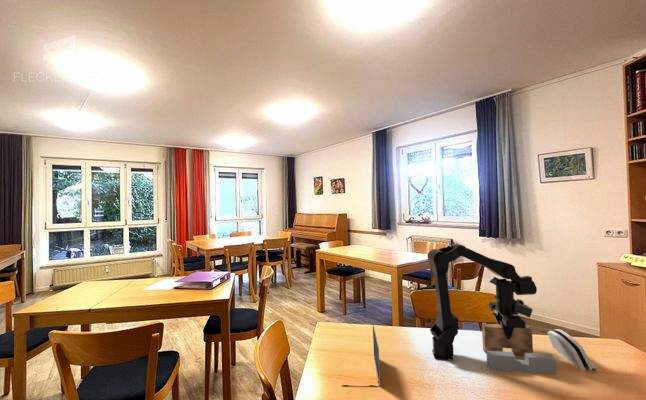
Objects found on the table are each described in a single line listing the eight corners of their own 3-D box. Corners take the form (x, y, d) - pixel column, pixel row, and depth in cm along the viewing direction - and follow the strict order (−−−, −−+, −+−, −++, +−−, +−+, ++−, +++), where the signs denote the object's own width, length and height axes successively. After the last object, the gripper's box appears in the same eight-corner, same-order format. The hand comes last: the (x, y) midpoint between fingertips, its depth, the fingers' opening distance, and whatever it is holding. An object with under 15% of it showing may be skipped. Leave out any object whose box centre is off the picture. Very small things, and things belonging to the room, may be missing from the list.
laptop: (342, 358, 113) (340, 324, 113) (375, 358, 112) (373, 323, 112) (341, 387, 95) (339, 347, 95) (380, 388, 94) (379, 347, 94)
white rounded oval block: (599, 372, 97) (586, 343, 98) (584, 376, 98) (571, 347, 98) (567, 347, 113) (556, 322, 114) (554, 350, 114) (543, 326, 115)
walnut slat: (485, 353, 111) (484, 326, 111) (483, 349, 114) (481, 323, 114) (533, 356, 108) (531, 329, 108) (529, 352, 111) (528, 325, 111)
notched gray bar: (490, 369, 101) (489, 355, 101) (487, 364, 104) (486, 350, 104) (556, 374, 97) (555, 359, 97) (551, 369, 100) (550, 354, 100)
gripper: (541, 304, 100) (544, 350, 100) (517, 288, 119) (519, 327, 118) (505, 303, 103) (507, 348, 102) (487, 288, 121) (489, 326, 121)
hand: (506, 336), depth 111 cm, fingers closed on walnut slat, 3 cm apart
